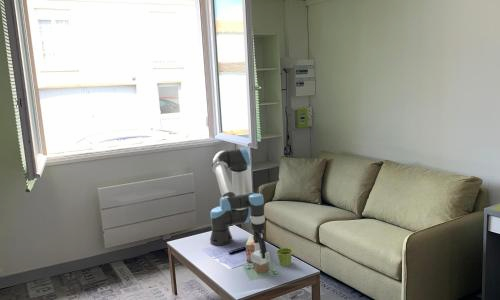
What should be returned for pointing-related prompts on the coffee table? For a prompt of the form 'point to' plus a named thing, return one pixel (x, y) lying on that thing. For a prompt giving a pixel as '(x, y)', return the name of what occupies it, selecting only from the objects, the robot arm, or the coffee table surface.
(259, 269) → the base brick
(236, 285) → the coffee table surface
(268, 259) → the small box
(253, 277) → the build plate
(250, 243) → the stack of blocks
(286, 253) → the plant pot
